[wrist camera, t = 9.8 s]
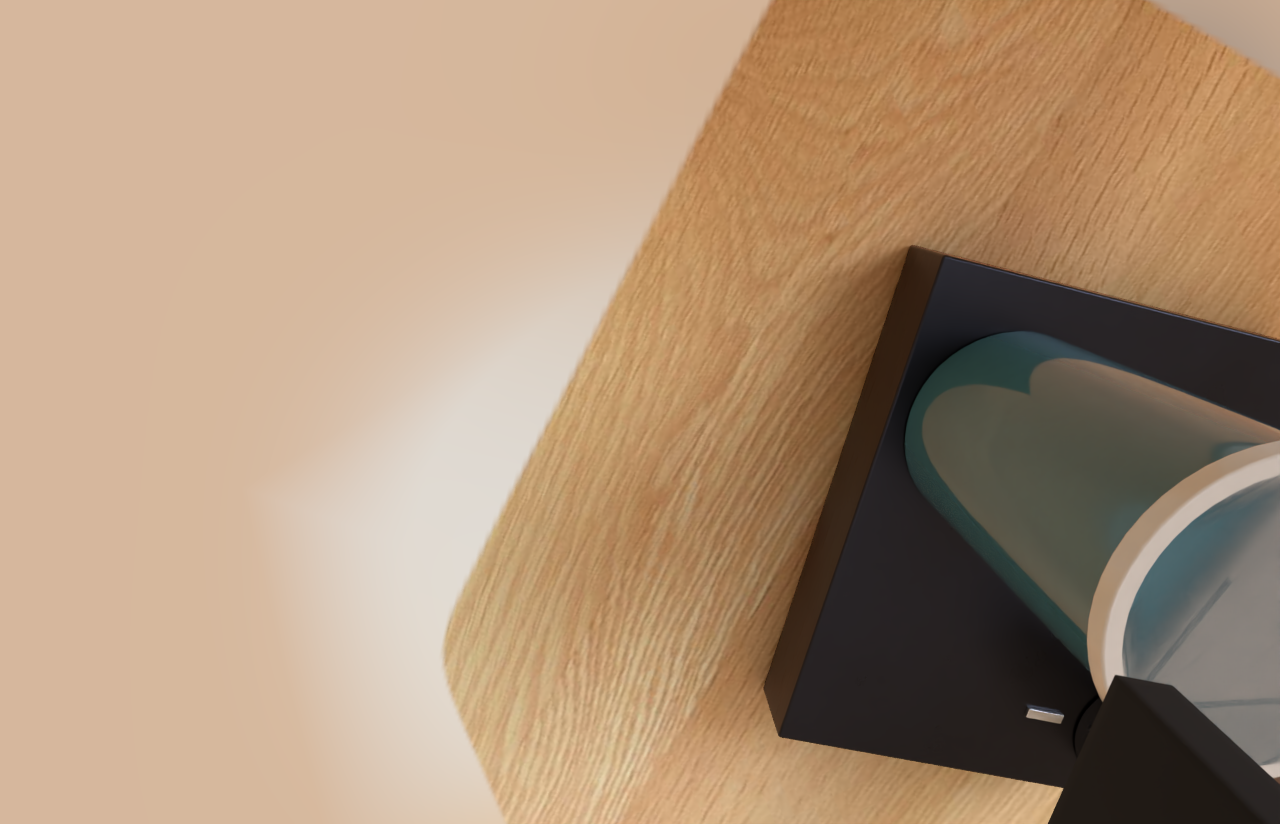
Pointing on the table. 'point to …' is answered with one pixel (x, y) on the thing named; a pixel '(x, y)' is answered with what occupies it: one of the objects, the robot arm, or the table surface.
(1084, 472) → the pot
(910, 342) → the hob
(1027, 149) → the table surface
